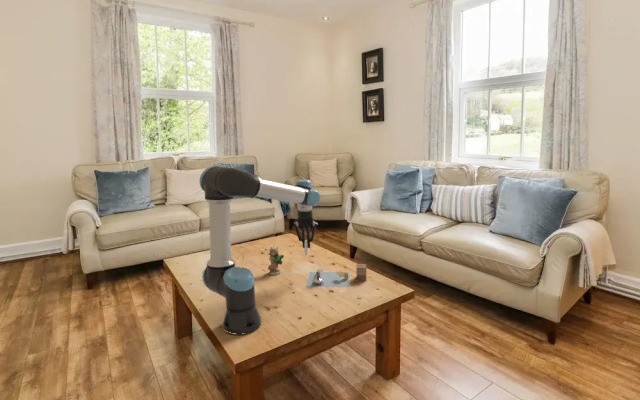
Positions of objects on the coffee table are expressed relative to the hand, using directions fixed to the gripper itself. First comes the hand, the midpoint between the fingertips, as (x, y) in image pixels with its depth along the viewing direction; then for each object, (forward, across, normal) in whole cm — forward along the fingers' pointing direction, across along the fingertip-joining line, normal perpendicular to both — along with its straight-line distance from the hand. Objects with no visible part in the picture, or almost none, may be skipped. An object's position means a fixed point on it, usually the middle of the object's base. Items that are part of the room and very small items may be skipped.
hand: (306, 253), depth 194 cm
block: (+14, +28, +1) cm, 32 cm away
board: (+14, +12, -1) cm, 18 cm away
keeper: (+14, +19, -1) cm, 24 cm away
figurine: (+14, -19, +6) cm, 25 cm away
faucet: (+13, +7, -2) cm, 15 cm away
